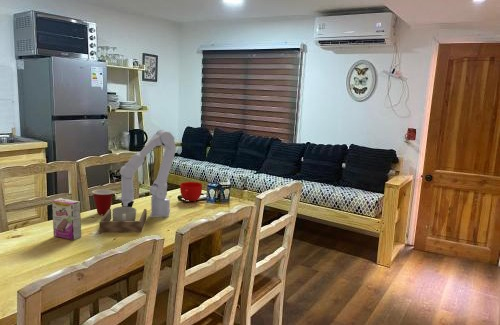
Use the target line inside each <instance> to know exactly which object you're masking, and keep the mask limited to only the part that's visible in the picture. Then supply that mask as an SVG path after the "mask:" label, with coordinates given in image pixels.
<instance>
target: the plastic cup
mask: <svg viewBox="0 0 500 325" xmlns="http://www.w3.org/2000/svg"><path fill="white" fill-rule="evenodd" d="M91 192H92V195H93V199H94V204H95V208H96V213H97V215H99V216H104V215H105V214H106V212H107V211H108V209H111V207H112V201H113V196H114V194H115V191H114V190H111V189H95V190H92V191H91Z"/></svg>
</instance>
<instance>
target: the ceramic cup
mask: <svg viewBox="0 0 500 325" xmlns="http://www.w3.org/2000/svg"><path fill="white" fill-rule="evenodd" d="M202 190H203V184H202V182H196V181H195V182H194V181H188V182H187V181H186V182H181V183H180V184H179V191H180V195H181V197H182V199H183V200H184V199H185V200H189V201H196V200H197V201H198V200H199V199H200V197H201V195H202V192H203V191H202ZM185 200H184V201H185ZM197 201H196V202H197Z"/></svg>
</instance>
